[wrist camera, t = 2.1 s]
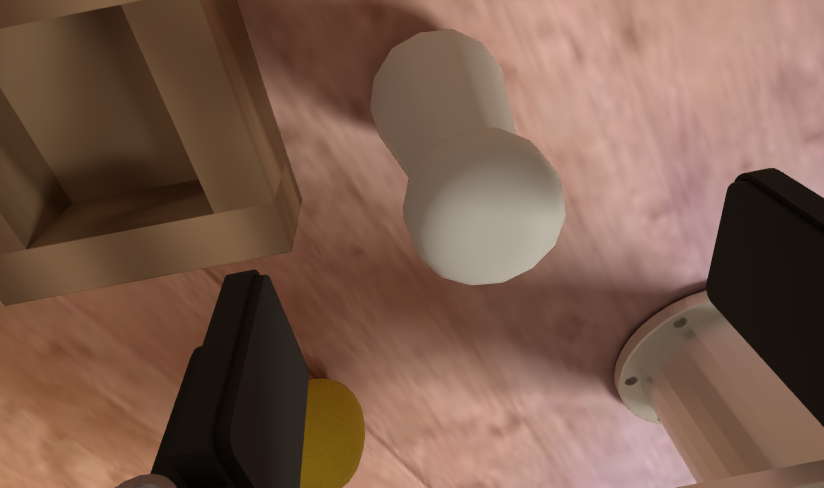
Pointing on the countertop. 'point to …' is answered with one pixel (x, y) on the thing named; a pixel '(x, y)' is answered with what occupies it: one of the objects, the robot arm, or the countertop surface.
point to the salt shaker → (464, 161)
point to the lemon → (331, 435)
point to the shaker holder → (133, 145)
